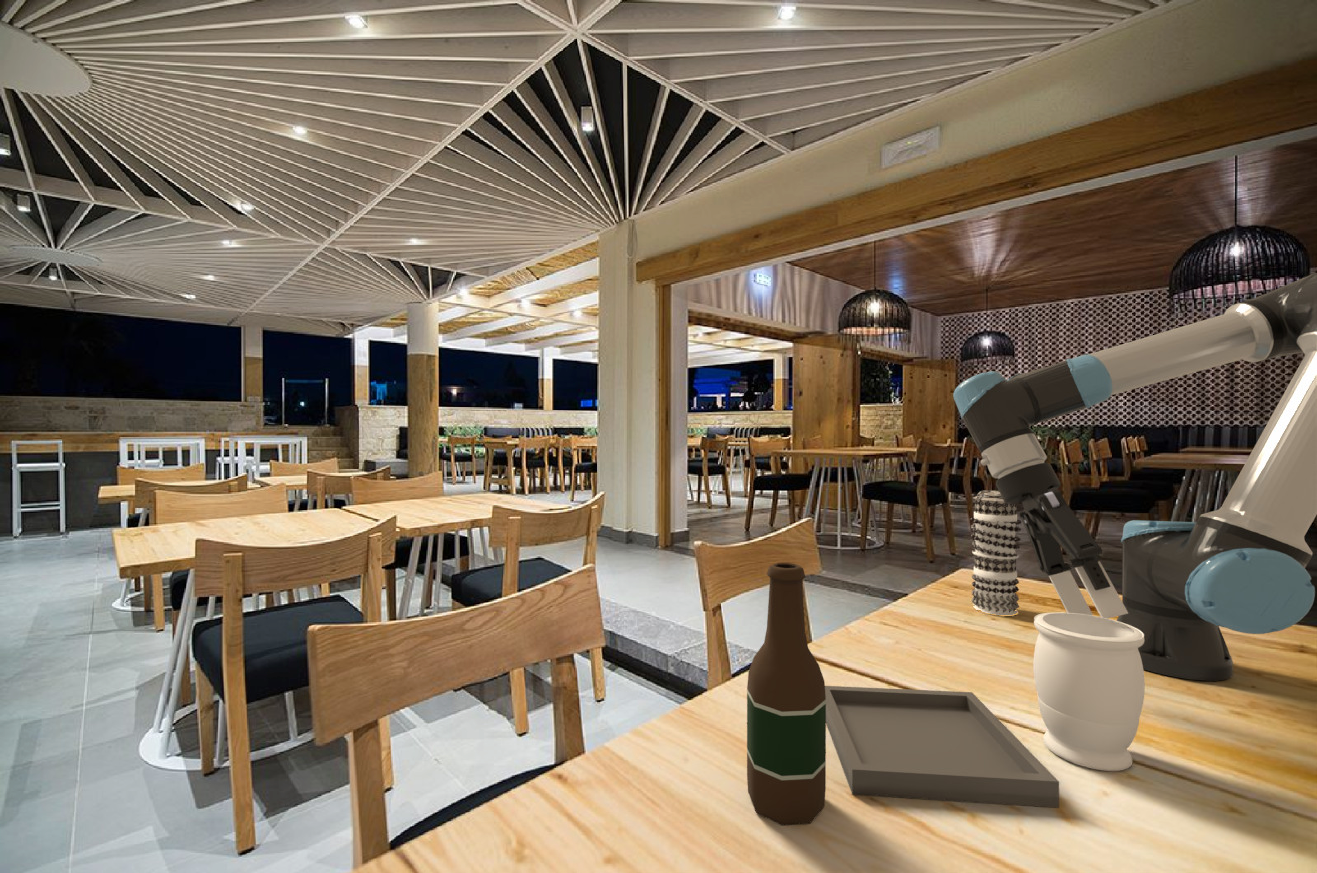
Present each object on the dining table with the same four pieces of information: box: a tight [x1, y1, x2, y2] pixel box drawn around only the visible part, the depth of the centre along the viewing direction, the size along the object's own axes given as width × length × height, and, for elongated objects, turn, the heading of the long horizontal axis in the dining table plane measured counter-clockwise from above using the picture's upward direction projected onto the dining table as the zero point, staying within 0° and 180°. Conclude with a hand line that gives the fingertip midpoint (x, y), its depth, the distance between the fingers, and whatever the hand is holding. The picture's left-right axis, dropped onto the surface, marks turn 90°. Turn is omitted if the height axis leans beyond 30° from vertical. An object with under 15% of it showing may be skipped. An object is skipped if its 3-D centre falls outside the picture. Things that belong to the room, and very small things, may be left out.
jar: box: [1032, 611, 1146, 772], centre depth 68 cm, size 11×10×15 cm
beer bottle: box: [746, 562, 827, 826], centre depth 59 cm, size 8×8×24 cm
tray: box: [825, 685, 1060, 808], centre depth 69 cm, size 20×20×3 cm
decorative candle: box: [970, 490, 1022, 615], centre depth 122 cm, size 9×9×25 cm
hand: (1097, 617), depth 77 cm, fingers open, 13 cm apart
